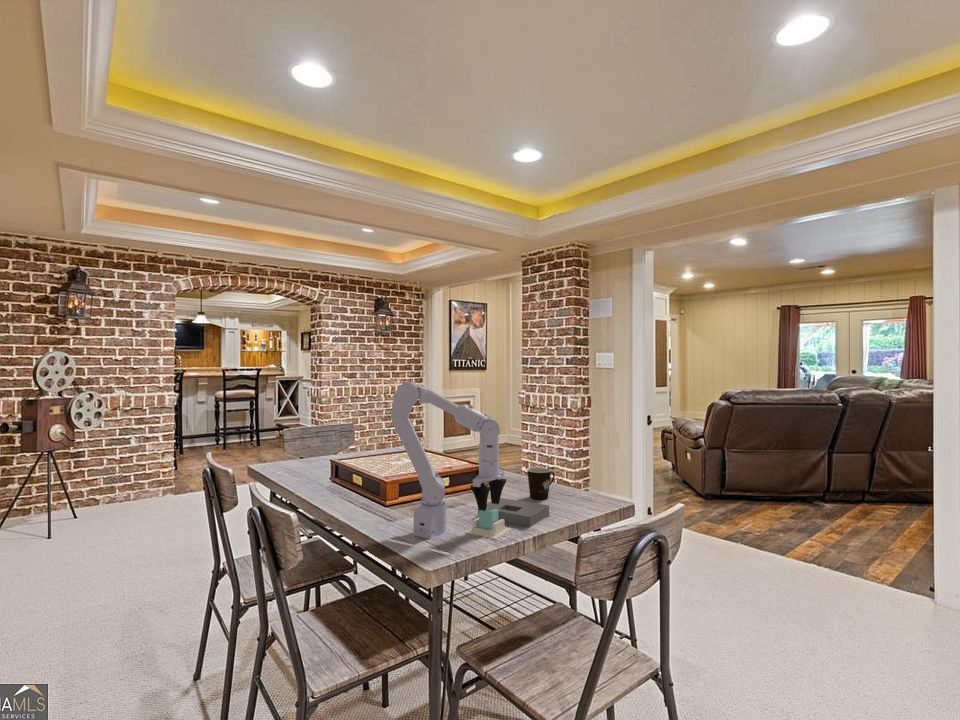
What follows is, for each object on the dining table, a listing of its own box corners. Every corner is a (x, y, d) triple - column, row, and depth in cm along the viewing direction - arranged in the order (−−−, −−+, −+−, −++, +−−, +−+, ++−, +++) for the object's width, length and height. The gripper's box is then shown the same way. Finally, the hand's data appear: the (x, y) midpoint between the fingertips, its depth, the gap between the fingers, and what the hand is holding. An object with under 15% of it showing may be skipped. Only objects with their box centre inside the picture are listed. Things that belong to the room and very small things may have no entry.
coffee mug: (531, 501, 182) (531, 473, 182) (523, 495, 191) (524, 468, 191) (562, 499, 185) (562, 471, 185) (553, 493, 193) (553, 466, 193)
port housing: (530, 528, 153) (530, 516, 153) (477, 518, 162) (477, 507, 162) (549, 516, 165) (549, 505, 165) (499, 508, 174) (499, 497, 174)
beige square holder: (495, 540, 143) (495, 527, 143) (464, 533, 148) (464, 521, 148) (511, 530, 152) (512, 518, 152) (482, 524, 157) (482, 512, 157)
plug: (492, 533, 147) (492, 512, 147) (478, 530, 149) (478, 509, 149) (498, 529, 150) (498, 509, 150) (484, 527, 152) (484, 506, 152)
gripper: (488, 465, 142) (488, 515, 142) (512, 456, 154) (512, 502, 154) (466, 462, 145) (466, 511, 145) (492, 454, 158) (492, 499, 158)
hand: (488, 506), depth 150 cm, fingers open, 7 cm apart
